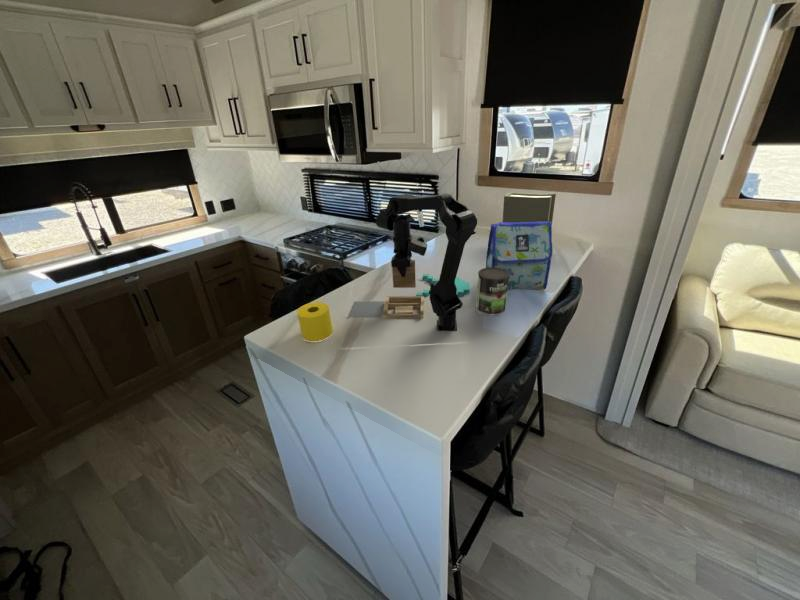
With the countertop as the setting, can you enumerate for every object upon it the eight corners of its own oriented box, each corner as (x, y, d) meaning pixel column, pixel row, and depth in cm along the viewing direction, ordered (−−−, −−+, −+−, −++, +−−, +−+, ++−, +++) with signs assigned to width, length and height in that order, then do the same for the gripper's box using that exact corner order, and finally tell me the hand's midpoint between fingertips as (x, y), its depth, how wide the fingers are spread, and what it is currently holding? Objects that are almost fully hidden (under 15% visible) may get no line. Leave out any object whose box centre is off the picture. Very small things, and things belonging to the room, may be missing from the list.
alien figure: (416, 299, 136) (468, 302, 133) (416, 294, 135) (469, 297, 132) (423, 278, 154) (470, 280, 150) (423, 273, 153) (470, 275, 149)
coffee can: (511, 313, 124) (515, 276, 117) (484, 318, 121) (487, 281, 115) (496, 300, 132) (499, 265, 126) (471, 304, 130) (473, 269, 124)
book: (499, 251, 179) (502, 194, 166) (505, 245, 185) (509, 191, 173) (542, 257, 167) (550, 197, 154) (548, 251, 174) (555, 193, 161)
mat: (380, 318, 125) (380, 317, 124) (347, 318, 126) (347, 317, 125) (385, 302, 135) (384, 301, 135) (354, 302, 136) (354, 301, 136)
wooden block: (415, 287, 127) (414, 261, 122) (393, 287, 128) (391, 261, 123) (415, 285, 128) (415, 259, 124) (393, 285, 129) (392, 260, 124)
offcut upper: (413, 314, 125) (413, 311, 124) (395, 315, 125) (395, 312, 125) (412, 308, 129) (412, 305, 128) (395, 309, 129) (395, 306, 128)
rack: (423, 318, 123) (423, 311, 122) (383, 318, 125) (383, 311, 123) (424, 303, 133) (424, 296, 131) (387, 303, 134) (386, 296, 133)
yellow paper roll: (326, 343, 112) (322, 318, 108) (297, 341, 114) (291, 316, 110) (336, 326, 121) (333, 302, 117) (309, 325, 123) (304, 301, 118)
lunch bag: (490, 296, 136) (496, 229, 123) (482, 278, 150) (487, 217, 138) (549, 294, 135) (560, 227, 122) (535, 276, 149) (544, 215, 137)
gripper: (425, 242, 110) (425, 287, 117) (426, 225, 126) (426, 265, 133) (389, 242, 111) (392, 287, 118) (395, 225, 127) (397, 265, 134)
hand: (403, 275), depth 126 cm, fingers closed on wooden block, 2 cm apart
